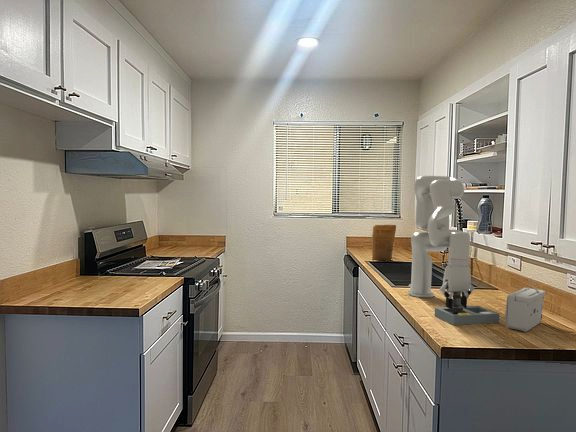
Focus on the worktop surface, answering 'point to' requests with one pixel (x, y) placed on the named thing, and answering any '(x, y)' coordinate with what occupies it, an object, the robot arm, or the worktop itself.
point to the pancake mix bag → (383, 241)
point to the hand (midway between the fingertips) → (456, 307)
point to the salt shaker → (456, 303)
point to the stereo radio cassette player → (524, 308)
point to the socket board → (467, 315)
